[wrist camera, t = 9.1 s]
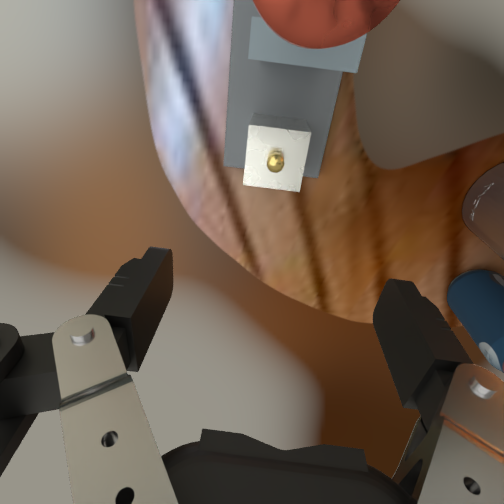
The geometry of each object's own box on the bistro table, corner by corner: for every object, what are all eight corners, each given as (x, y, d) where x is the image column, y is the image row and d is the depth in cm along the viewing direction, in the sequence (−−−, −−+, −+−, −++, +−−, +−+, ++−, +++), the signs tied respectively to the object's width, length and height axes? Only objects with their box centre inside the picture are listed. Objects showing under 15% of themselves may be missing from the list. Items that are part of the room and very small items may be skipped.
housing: (305, 119, 29) (312, 135, 23) (295, 170, 32) (300, 197, 26) (253, 113, 29) (247, 127, 23) (248, 164, 32) (241, 189, 26)
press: (361, -20, 25) (440, -91, 13) (316, 174, 33) (339, 238, 22) (237, -37, 25) (204, -123, 13) (225, 162, 33) (197, 220, 22)
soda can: (438, 308, 42) (489, 387, 32) (447, 267, 39) (508, 341, 29) (493, 304, 41) (564, 385, 31) (507, 262, 38) (593, 337, 28)
